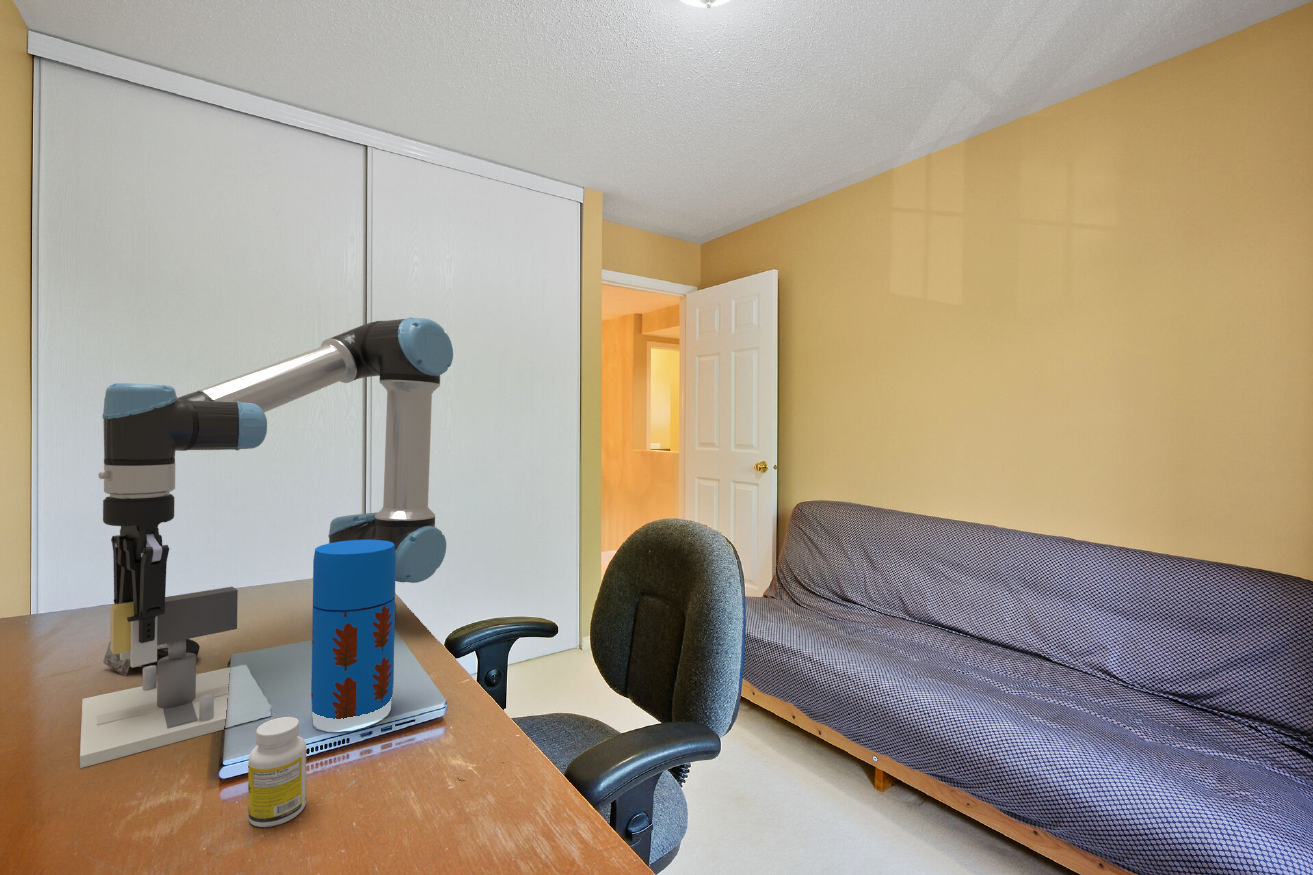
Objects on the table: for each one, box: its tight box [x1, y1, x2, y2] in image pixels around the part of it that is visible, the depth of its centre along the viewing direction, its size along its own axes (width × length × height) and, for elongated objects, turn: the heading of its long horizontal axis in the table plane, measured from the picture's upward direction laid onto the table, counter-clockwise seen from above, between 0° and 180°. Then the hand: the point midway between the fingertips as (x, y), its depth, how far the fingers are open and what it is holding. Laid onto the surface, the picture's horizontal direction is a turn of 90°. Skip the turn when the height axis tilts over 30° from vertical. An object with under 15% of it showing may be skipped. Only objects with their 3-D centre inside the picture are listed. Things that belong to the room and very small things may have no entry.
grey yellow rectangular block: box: [109, 586, 239, 659], centre depth 86 cm, size 14×3×9 cm, turn 139°
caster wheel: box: [102, 638, 201, 677], centre depth 103 cm, size 7×11×10 cm
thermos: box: [310, 540, 396, 719], centre depth 87 cm, size 11×11×25 cm
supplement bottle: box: [247, 716, 307, 828], centre depth 65 cm, size 5×5×10 cm
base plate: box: [79, 653, 230, 769], centre depth 86 cm, size 20×20×8 cm
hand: (138, 659), depth 83 cm, fingers closed on grey yellow rectangular block, 3 cm apart
